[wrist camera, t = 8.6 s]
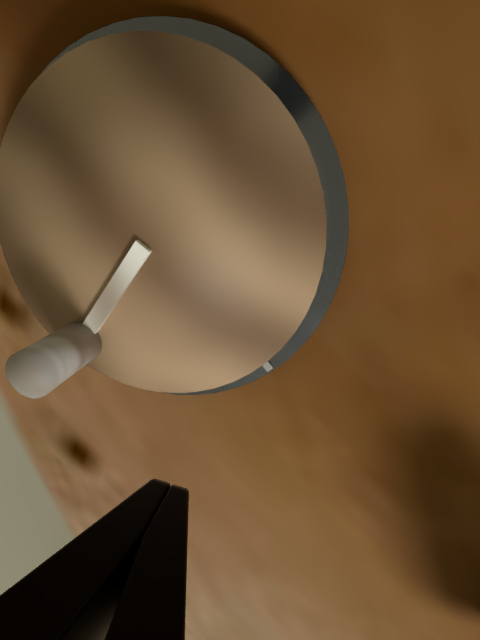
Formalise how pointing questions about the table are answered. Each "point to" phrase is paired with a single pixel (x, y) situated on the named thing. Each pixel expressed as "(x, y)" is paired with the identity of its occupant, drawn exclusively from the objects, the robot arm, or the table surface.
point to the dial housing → (314, 137)
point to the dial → (157, 216)
